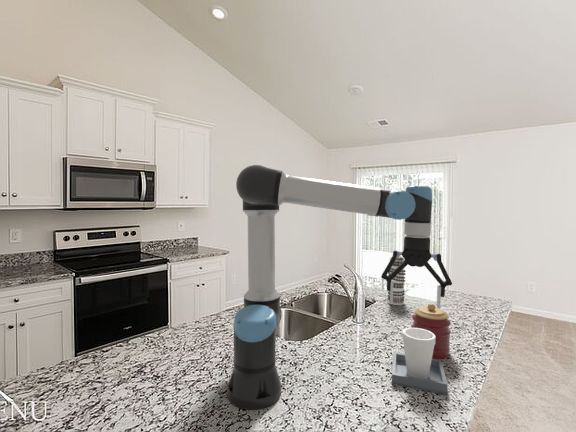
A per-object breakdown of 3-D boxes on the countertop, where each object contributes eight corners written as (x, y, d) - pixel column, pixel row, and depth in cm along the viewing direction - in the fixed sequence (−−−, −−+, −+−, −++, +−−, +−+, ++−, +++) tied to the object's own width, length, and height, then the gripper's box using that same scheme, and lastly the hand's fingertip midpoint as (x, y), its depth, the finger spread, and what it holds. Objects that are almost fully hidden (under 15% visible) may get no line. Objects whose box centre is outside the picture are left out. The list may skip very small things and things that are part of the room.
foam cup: (437, 384, 95) (438, 341, 95) (404, 380, 97) (405, 338, 97) (429, 368, 105) (431, 329, 104) (399, 365, 107) (401, 326, 106)
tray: (447, 394, 91) (447, 384, 91) (391, 384, 96) (391, 374, 96) (441, 368, 106) (441, 360, 105) (393, 360, 111) (393, 352, 110)
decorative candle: (383, 300, 177) (384, 255, 176) (397, 299, 180) (399, 255, 179) (393, 305, 168) (394, 258, 167) (408, 304, 171) (409, 257, 170)
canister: (445, 345, 123) (447, 300, 122) (453, 362, 110) (455, 311, 109) (409, 341, 126) (410, 297, 125) (412, 356, 114) (414, 307, 113)
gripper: (460, 237, 99) (457, 305, 100) (376, 233, 107) (374, 295, 108) (464, 240, 91) (461, 313, 93) (374, 235, 100) (372, 302, 101)
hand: (414, 304), depth 100 cm, fingers open, 13 cm apart
